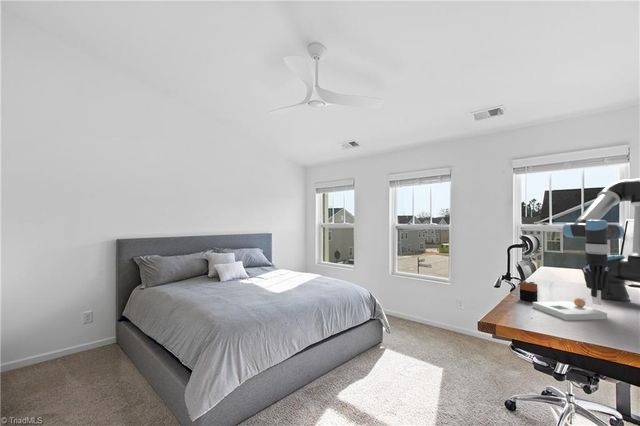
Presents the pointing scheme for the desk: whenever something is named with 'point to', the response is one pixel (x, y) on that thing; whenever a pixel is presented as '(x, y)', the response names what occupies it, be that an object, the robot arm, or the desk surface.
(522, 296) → the battery
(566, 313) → the white flat square slab
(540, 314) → the desk surface
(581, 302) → the ball
